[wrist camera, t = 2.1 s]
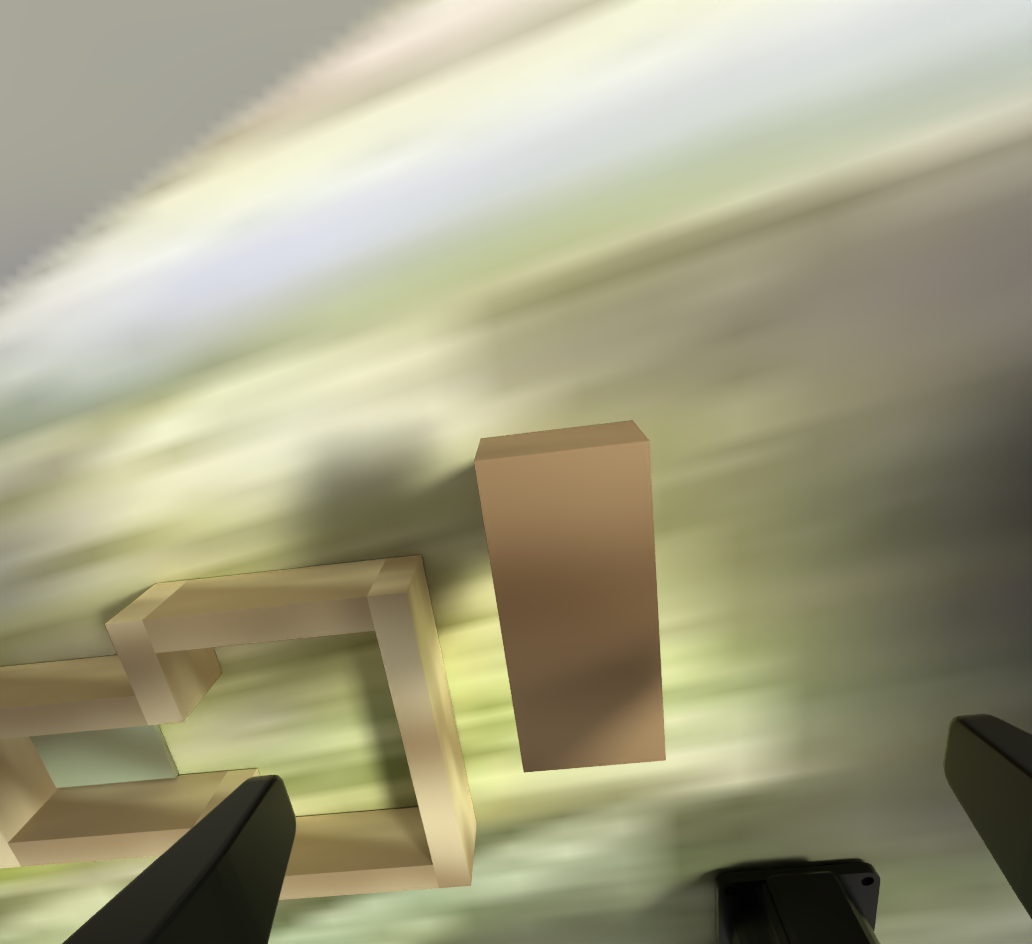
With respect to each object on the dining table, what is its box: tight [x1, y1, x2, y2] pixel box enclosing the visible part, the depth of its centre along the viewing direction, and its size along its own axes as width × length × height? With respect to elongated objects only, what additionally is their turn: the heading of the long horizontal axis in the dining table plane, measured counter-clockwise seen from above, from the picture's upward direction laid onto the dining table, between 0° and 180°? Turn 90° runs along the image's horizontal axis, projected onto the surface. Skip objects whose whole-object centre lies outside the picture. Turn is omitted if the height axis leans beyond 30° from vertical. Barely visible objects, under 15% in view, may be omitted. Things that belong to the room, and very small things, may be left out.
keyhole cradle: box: [0, 555, 477, 900], centre depth 20 cm, size 12×18×2 cm
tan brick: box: [474, 420, 666, 772], centre depth 14 cm, size 7×3×8 cm, turn 7°
